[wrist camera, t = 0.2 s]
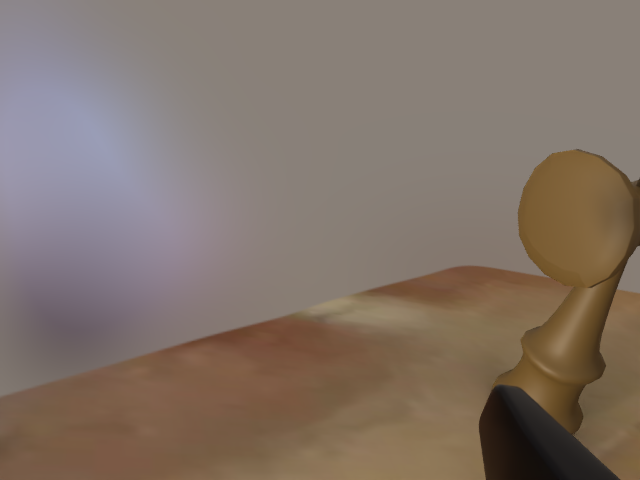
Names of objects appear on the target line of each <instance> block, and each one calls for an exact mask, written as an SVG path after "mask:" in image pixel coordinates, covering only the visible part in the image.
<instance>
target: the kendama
mask: <svg viewBox="0 0 640 480" xmlns="http://www.w3.org/2000/svg"><path fill="white" fill-rule="evenodd" d="M518 224H519V236H520V238H521V240H522V243H523V245H524V247H525V250H526V252H527V254H528V256H529V257H530V259H531V260H532V261H533V262H534V263H535V264H536V265H537V266H538V267H539V268H540V269H541V271H542V272H543V273H544V274H545V275H547V276H549V277H551V278H552V279H554V280H556V281H558V282H560V283H561V284H563V285H565V286H574V288H573V289H572V290H571V292H570V293H569V295H568V296H567V297H566V299H565V300H564V301H563V303H562V304H561V305H560V306H559V308H558V309H557V310H556V311H555V313H554V314H553V315H552V316H551V317H550V318H549V320H548V321H547V322H545V323H544V324H543V325H542V326H539V327H536V328H533V329H531V330H528V331H526V333H525V334H524V336H523V337H522V339H521V344H522V348H523V356H522V358H521V360H520V362H519V363H518V365H517V366H516V367H515V368H514V369H512V370H510V371H508V372H505V373H503V374H501V375H500V376H498V378H497V379H496V381H495V383H494V384H493V387H492V389H493V388H494V387H495V386H496V385H498V384H504V385H511V386H517V387H520V388H522V389H523V390H524V391H525V392H526V393H527V394H528V395H529V396H530V397H532V398H533V399H534V400H535V401H536V402H537V403H538V404H539V405H540V406H541V407H542V408H543V409H544V410H546V411H547V412H548V413H549V414H550V415H551V416H552V417H553V418H554V419H555V420H556V421H557V422H559V423H560V424H561V425H562V426H563V427H564V428H565V429H566V430H567V431H568V432H569V433H570V434H571V435H572V434H573V433H575V432H576V431H578V429H579V428H580V425H581V422H582V420H583V414H582V411H581V408H580V405H579V403H578V399H579V396H580V394H581V392H582V390H583V388H584V387H585V385H586V384H589V383H591V382H593V381H595V380H597V379H599V378H600V377H601V376H602V374H603V372H604V370H605V367H606V364H605V362H604V360H603V357H602V355H601V353H600V351H599V349H600V341H601V336H602V332H603V329H604V325H605V322H606V319H607V316H608V312H609V309H610V306H611V303H612V301H613V298H614V295H615V292H616V289H617V287H618V284H619V281H620V278H621V276H622V273H623V271H624V268H625V266H626V264H627V261H628V259H629V257H630V256H631V255H632V254H633V252H634V251H635V249H636V247H637V246H640V179H639V180H637V181H634V182H630V180H629V179H628V177H627V176H626V175H625V174H624V173H622V172H621V171H620V170H619V169H618V168H616V167H615V166H614V165H613V164H611V163H610V162H609V161H607V160H606V159H605V158H604V157H602V156H599V155H596V154H592V153H589V152H585V151H582V150H579V149H577V150H570V151H564V152H558V153H552V154H551V155H550V156H549V157H548V158H546V159H545V160H544V161H543V162H542V163H541V164H539V165H538V166H537V167H536V168H535V169H534V171H533V173H532V175H531V176H530V178H529V180H528V182H527V183H526V185H525V187H524V189H523V193H522V197H521V201H520V205H519V209H518Z"/></svg>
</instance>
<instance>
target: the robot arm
mask: <svg viewBox="0 0 640 480" xmlns="http://www.w3.org/2000/svg"><path fill="white" fill-rule="evenodd" d="M479 433H480V440H481V447H482V455H483V462H484V469H485V476H486V480H620V479H619V478H618V477H617V476H616V475H615V474H614V473H613V472H611V471H610V470H609V469H608V468H607V467H606V466H605V465H604V464H603V463H602V462H601V461H600V460H599V459H597V458H596V457H595V456H594V455H593V454H592V453H591V452H590V451H589V450H588V449H587V448H586V447H584V446H583V445H582V444H581V443H580V442H579V441H578V440H577V439H576V438H575V437H574V436H573V435H571V434H570V433H569V432H568V431H567V430H566V429H565V428H564V427H563V426H562V425H561V424H560V423H559V422H557V421H556V420H555V419H554V418H553V417H552V416H551V415H550V414H549V413H548V412H547V411H546V410H544V409H543V408H542V407H541V406H540V405H539V404H538V403H537V402H536V401H535V400H534V399H533V398H532V397H530V396H529V395H528V394H527V393H526V392H525V391H524V390H523V389H522V388H520V387H517V386H511V385H504V384H498V385H496V386H495V387H494V388H493V389H492V391H491V394H490V396H489V398H488V400H487V403H486V405H485V407H484V409H483V412H482V414H481V417H480V421H479Z"/></svg>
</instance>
